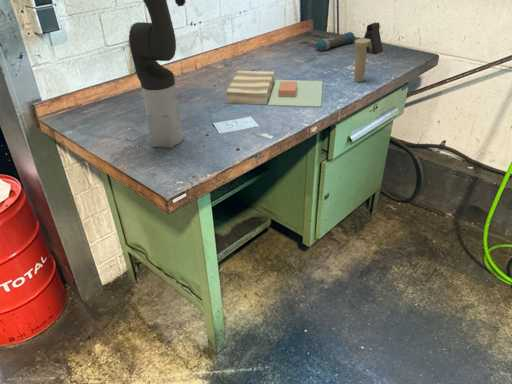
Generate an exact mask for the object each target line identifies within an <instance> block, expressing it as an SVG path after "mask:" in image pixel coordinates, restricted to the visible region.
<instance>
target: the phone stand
mask: <svg viewBox="0 0 512 384" xmlns="http://www.w3.org/2000/svg"><path fill="white" fill-rule="evenodd" d="M380 25H381V24H380V22H377V21H375V22H372V23H370V24H368V25H367V26H366V31H365V35H364V36H363V38H366V39H370V40H371V41H370V45H371V47H370V45H369V46H368V47H367V50H366V54H371V55H377V54H380V53H383V45H382V39H381V32H380Z"/></svg>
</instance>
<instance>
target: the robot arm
mask: <svg viewBox="0 0 512 384" xmlns="http://www.w3.org/2000/svg"><path fill="white" fill-rule="evenodd" d="M142 1H143V3H144V5H145V7H146V9H147V11H148V14H149V15H148V16H149V17H150V18H149V19H150V21H151V22H145V21H143V22H139V21H138V22H135V23H133V24H132V26H131V27H130V29H129V36H128V42H129V48H130V53H131V57H132V62H133V65H134V71H135V73H136V76H137V78H138V81H139V82H140V88H141V91H142V92H141V93H142V99H143V103H144V109H145V114H146V120H147V124H148V125H147V126H148V131H149V135H150V141H151V146H152V148H170V149H171V148H174V147H175V146H177V145H179V144H180V143H181V142H182V141H183V140H184V136H183V130H182V129H183V128H182V124H181V116H180V108H179V100H178V95H177V94H178V93H177V87H176V86H177V85H176V80H175V74H174V73H173V71H171V70H170V69H168V68H167V67H164V66H163V65H162V64H160V63H159V62H168V61H172V60H173V58H174V57H175V55H176V50H177V41H176V39H177V38H176V35H175V28H174V25H173V22H172V17H171V13H170V9H169V5H168V1H167V0H142ZM174 2H175V4H176V5H177V7H184V6H185V4H186V0H174ZM158 61H159V62H158Z"/></svg>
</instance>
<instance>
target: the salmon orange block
mask: <svg viewBox="0 0 512 384" xmlns="http://www.w3.org/2000/svg"><path fill="white" fill-rule="evenodd" d="M296 90H297V82H287V81H281V82H280V86H279V90H278V97H296Z"/></svg>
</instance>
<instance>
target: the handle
mask: <svg viewBox="0 0 512 384" xmlns="http://www.w3.org/2000/svg"><path fill="white" fill-rule="evenodd" d="M370 41H371V40H370V39H366V38H364V37H363V38H358V39H356V40H354V46H355V47H357V49H356V54H355V55H356V56H355V61H354V71H353V72H354V75H353V77H354V82H356V83H363V81H364V77H365V74H366V73H365V72H366V64H367V63H366V62H367V53H366V50H367V47H368V46H369V47H370V45H371V43H370Z"/></svg>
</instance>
